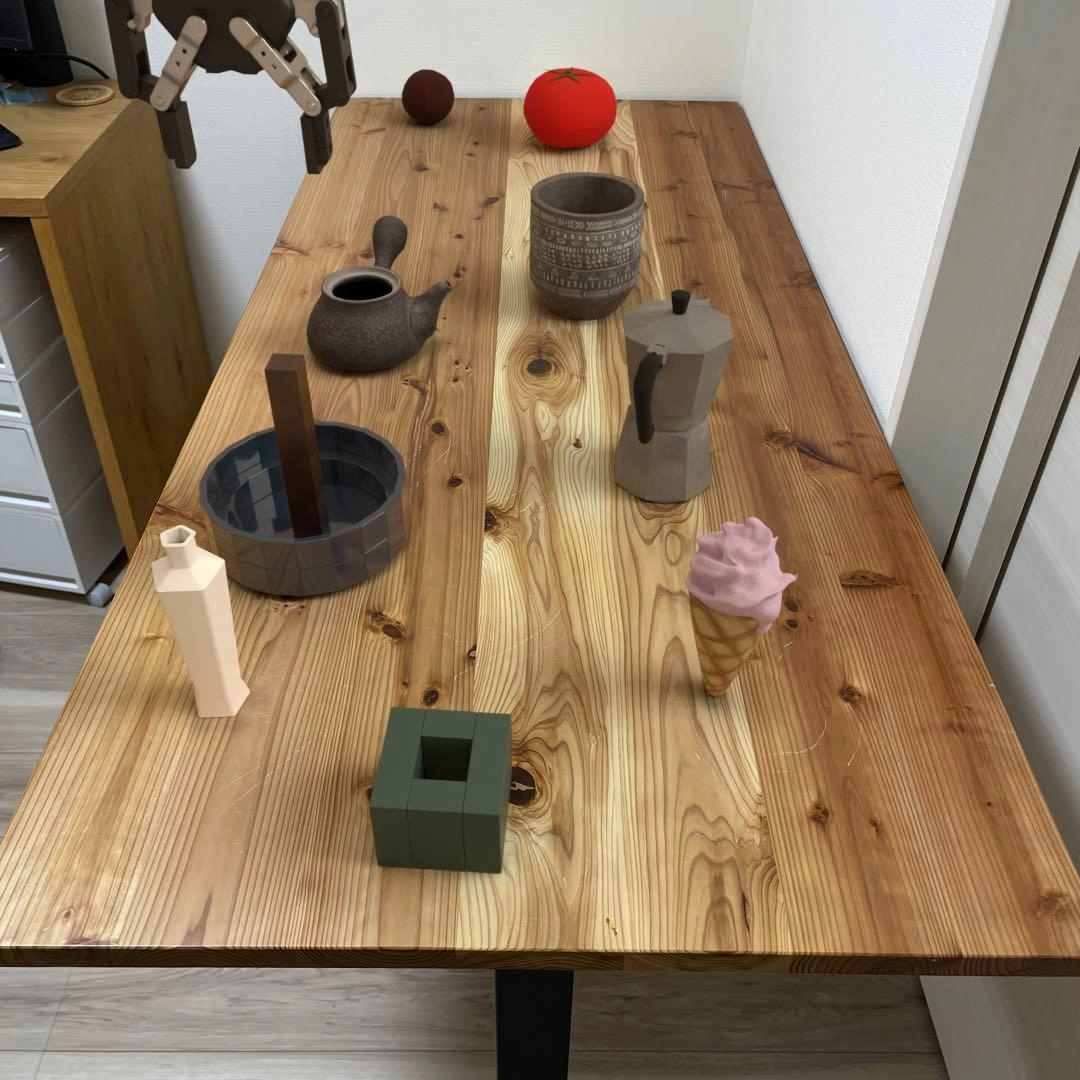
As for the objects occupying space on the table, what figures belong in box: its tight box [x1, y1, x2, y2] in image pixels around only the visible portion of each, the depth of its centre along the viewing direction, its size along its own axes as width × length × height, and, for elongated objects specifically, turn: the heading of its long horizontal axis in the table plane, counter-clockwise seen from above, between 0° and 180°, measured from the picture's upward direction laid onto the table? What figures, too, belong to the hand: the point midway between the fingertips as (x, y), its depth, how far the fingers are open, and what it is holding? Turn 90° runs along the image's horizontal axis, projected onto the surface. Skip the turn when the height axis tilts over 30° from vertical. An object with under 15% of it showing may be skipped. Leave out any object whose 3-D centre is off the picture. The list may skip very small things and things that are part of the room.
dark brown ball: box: [401, 68, 455, 125], centre depth 163 cm, size 8×9×8 cm
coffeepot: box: [613, 289, 735, 504], centre depth 90 cm, size 15×9×18 cm, turn 156°
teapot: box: [306, 214, 454, 371], centre depth 112 cm, size 19×15×10 cm
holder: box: [368, 706, 513, 874], centre depth 66 cm, size 8×8×6 cm
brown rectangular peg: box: [263, 352, 329, 538], centre depth 84 cm, size 2×2×16 cm
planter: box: [528, 171, 645, 321], centre depth 117 cm, size 12×12×13 cm
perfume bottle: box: [151, 524, 251, 719], centre depth 71 cm, size 5×4×15 cm
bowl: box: [198, 420, 412, 597], centre depth 87 cm, size 16×16×6 cm
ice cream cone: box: [685, 516, 799, 698], centre depth 72 cm, size 7×6×15 cm
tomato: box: [522, 66, 618, 149], centre depth 156 cm, size 14×13×10 cm
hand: (252, 167), depth 69 cm, fingers open, 8 cm apart
